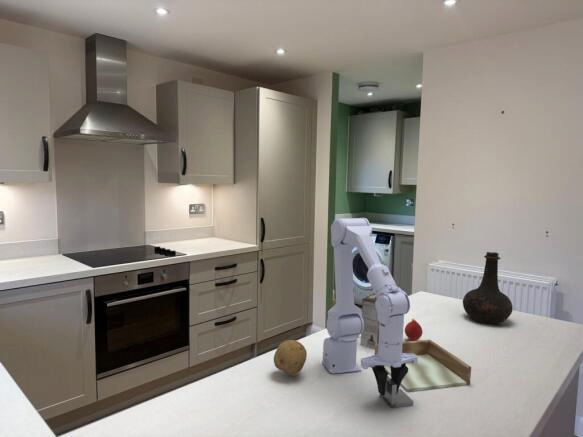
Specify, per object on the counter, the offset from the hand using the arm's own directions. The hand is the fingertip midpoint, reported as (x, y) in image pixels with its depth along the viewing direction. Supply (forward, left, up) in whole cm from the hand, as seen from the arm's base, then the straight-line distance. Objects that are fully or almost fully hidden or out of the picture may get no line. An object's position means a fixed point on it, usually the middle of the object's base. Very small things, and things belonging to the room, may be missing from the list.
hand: (387, 392), depth 100 cm
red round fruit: (+27, +33, -2) cm, 43 cm away
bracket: (+2, 0, -2) cm, 3 cm away
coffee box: (+13, +34, -2) cm, 37 cm away
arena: (+16, +12, -2) cm, 20 cm away
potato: (-21, +18, -2) cm, 27 cm away
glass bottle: (+69, +47, -2) cm, 84 cm away
